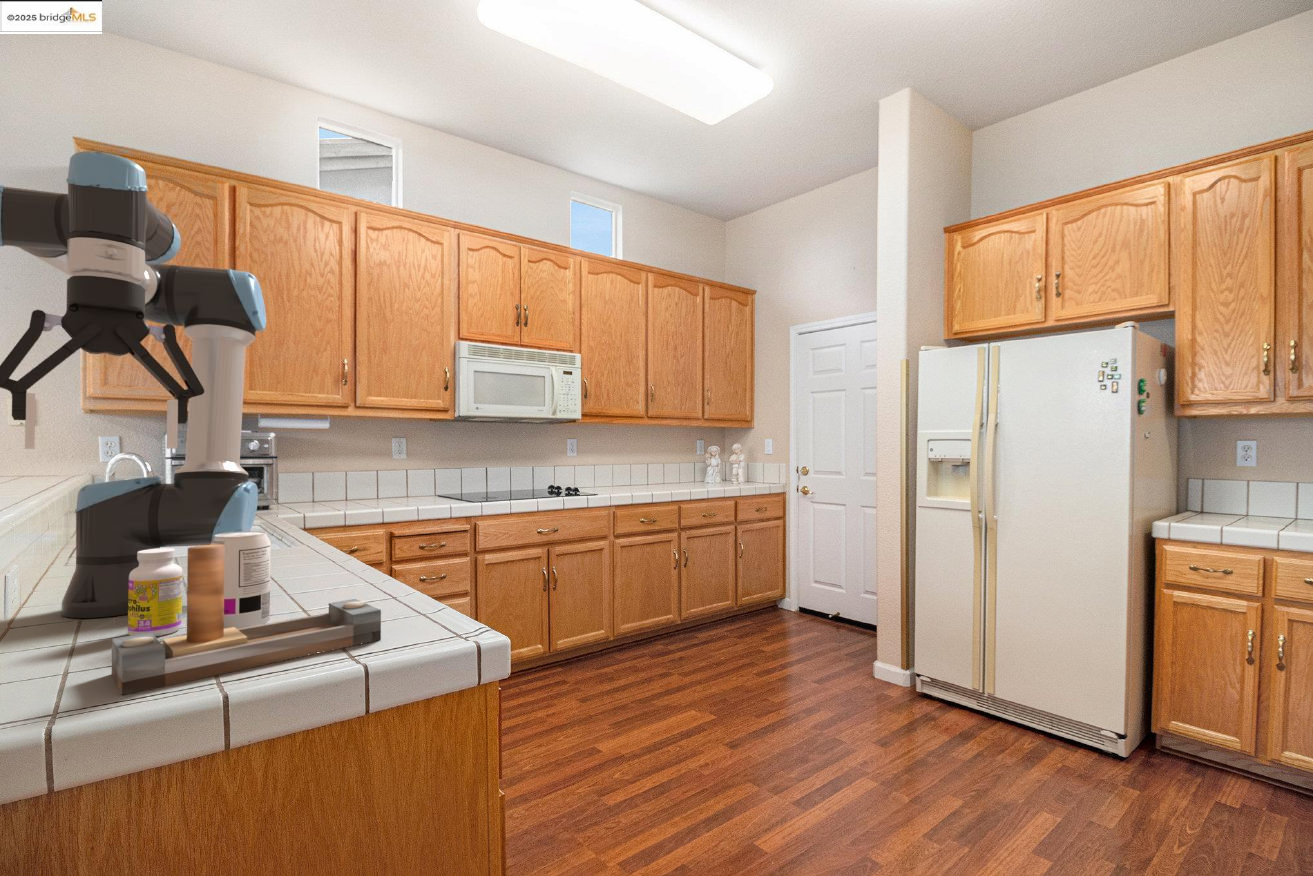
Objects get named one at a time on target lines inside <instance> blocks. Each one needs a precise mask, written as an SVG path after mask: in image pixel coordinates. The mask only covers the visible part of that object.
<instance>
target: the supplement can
mask: <svg viewBox="0 0 1313 876" xmlns="http://www.w3.org/2000/svg"><path fill="white" fill-rule="evenodd" d="M210 545H224V546H225V550H224V629H225V628H230V627H235V628H236V629H238V628H244V627H250V626H256V625H262V624H267V623H269V622H270V620H271V619H270V618H271V616H270V615H271V612H270V611H271V540H270V538H269V537H268V535H267V531H263V530H261V531H260V530H250V531H242V532H229V533H222V534H217V535H215V536H214V539H213V541H212V543H211V544H210Z"/></svg>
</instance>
